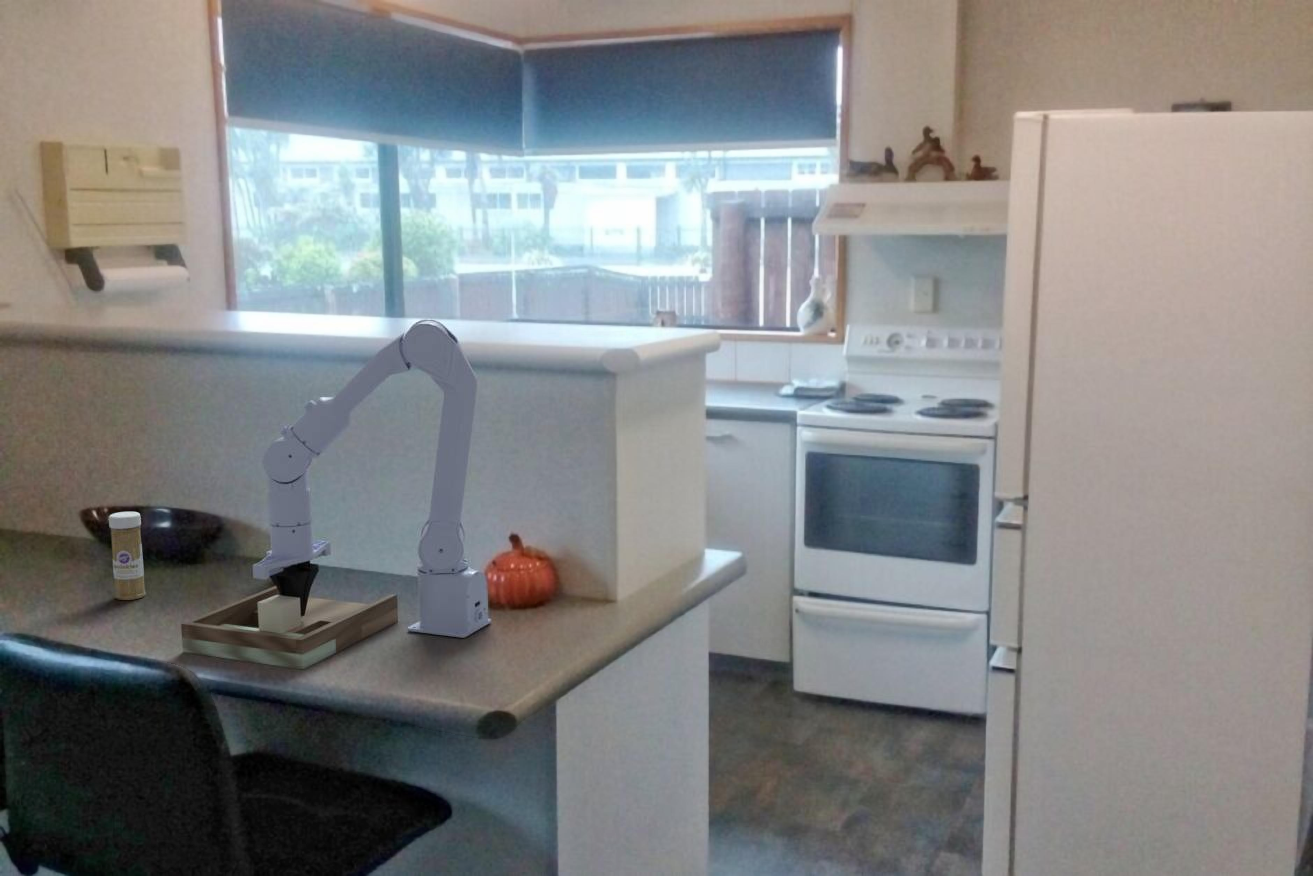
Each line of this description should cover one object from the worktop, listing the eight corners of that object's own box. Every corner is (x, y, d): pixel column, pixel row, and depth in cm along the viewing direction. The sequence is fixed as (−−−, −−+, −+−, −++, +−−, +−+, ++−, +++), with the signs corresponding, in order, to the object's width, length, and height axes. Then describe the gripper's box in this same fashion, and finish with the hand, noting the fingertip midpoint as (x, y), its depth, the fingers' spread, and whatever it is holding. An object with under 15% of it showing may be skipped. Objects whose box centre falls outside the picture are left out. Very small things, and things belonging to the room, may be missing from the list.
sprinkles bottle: (115, 602, 192) (108, 518, 190) (115, 594, 197) (108, 512, 194) (146, 598, 194) (140, 515, 192) (146, 591, 198) (140, 509, 196)
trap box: (398, 621, 182) (397, 594, 181) (303, 669, 162) (301, 640, 161) (287, 607, 189) (285, 581, 188) (183, 651, 169) (180, 623, 168)
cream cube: (301, 625, 174) (299, 597, 173) (282, 633, 170) (280, 605, 169) (278, 622, 175) (276, 594, 174) (259, 630, 171) (257, 602, 171)
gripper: (300, 509, 182) (305, 599, 184) (232, 531, 168) (238, 627, 170) (340, 513, 179) (345, 603, 181) (274, 535, 166) (280, 633, 168)
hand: (296, 615), depth 176 cm, fingers closed
